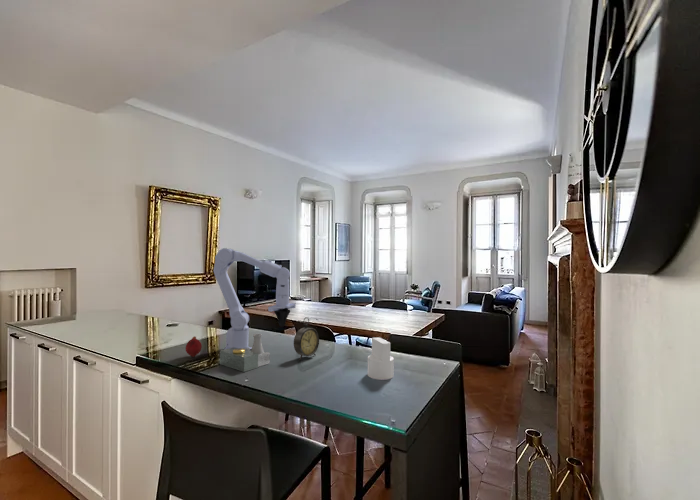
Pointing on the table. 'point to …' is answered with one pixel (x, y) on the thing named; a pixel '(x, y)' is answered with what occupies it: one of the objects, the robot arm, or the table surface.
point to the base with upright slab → (380, 360)
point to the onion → (193, 347)
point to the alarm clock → (306, 341)
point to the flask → (257, 344)
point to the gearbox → (243, 358)
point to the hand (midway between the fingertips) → (281, 326)
